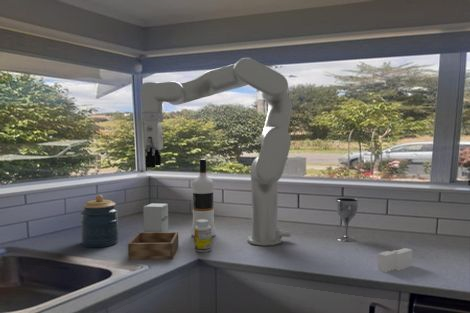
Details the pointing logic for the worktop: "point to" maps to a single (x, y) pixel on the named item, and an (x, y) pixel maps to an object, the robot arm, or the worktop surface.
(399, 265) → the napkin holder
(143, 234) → the crate
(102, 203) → the canister
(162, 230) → the supplement box
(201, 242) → the supplement bottle
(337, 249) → the worktop surface
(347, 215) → the wine glass
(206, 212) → the vodka
